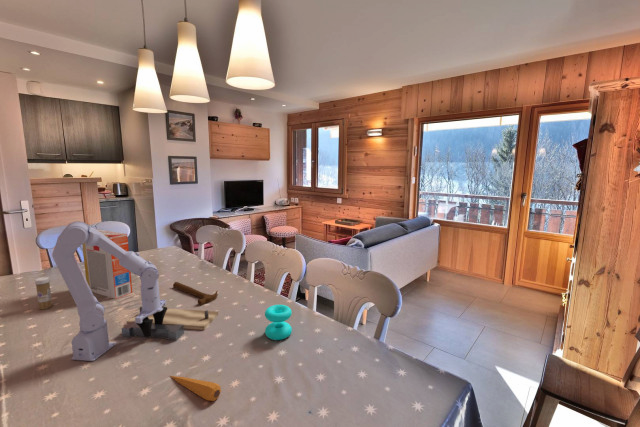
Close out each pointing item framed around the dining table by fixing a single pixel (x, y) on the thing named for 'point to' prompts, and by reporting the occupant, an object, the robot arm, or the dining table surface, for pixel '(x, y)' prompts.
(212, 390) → the carrot
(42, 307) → the sprinkles bottle
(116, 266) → the pasta box
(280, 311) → the donuts
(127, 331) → the drawer pull handle
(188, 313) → the oak board
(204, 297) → the hammer
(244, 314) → the dining table surface
